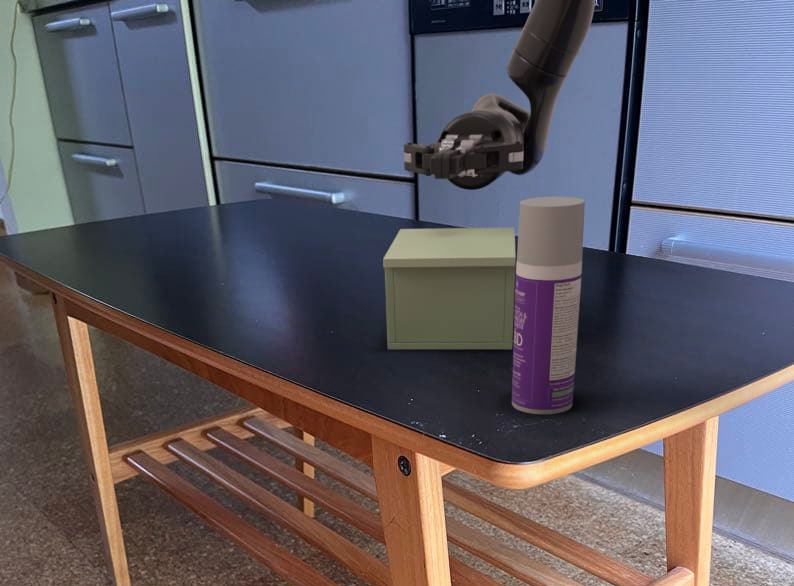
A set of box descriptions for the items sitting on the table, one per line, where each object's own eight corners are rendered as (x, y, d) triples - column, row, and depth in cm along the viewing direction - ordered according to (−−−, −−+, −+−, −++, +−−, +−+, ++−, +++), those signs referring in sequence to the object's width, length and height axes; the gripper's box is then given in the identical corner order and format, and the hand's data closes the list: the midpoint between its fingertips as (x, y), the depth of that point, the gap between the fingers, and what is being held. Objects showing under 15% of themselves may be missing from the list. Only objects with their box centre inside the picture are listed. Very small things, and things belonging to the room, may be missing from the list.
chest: (512, 351, 80) (515, 264, 77) (387, 351, 82) (384, 266, 78) (511, 312, 92) (514, 235, 88) (402, 313, 94) (400, 237, 90)
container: (499, 405, 68) (504, 202, 61) (541, 391, 71) (551, 194, 64) (542, 421, 65) (553, 208, 58) (585, 406, 67) (601, 200, 60)
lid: (515, 266, 76) (515, 256, 76) (383, 267, 77) (383, 258, 77) (514, 235, 88) (514, 227, 88) (400, 237, 90) (400, 229, 89)
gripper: (420, 111, 96) (372, 123, 81) (541, 108, 92) (514, 121, 78) (421, 184, 99) (376, 208, 85) (538, 184, 96) (511, 210, 81)
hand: (442, 166), depth 81 cm, fingers closed
